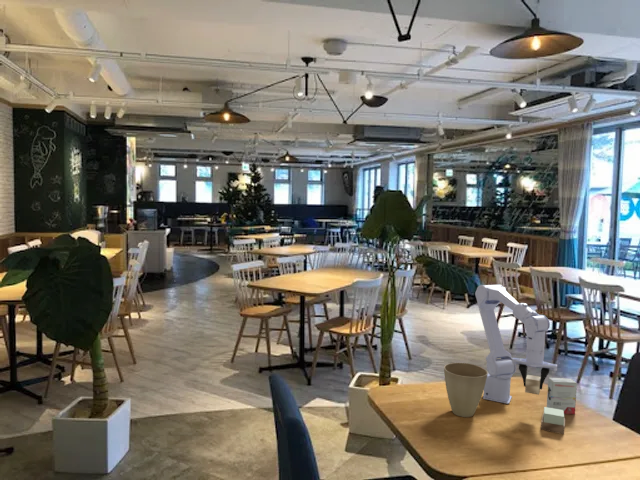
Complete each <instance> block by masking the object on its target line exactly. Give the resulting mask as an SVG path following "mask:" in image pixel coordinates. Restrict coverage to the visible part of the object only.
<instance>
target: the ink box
mask: <svg viewBox="0 0 640 480" xmlns="http://www.w3.org/2000/svg"><path fill="white" fill-rule="evenodd" d="M577 388H578V383H577V382H576V381H575V380H574V379H573V378H567V377H566V378H562V377H548V380H547V392H546V393H547V396H546V398H547V399H546V407H548V408H554V409H560V410H563V411H564V415H565V414H566V415H575V414H576V405H577V404H576V402H577Z"/></svg>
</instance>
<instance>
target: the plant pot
mask: <svg viewBox="0 0 640 480" xmlns="http://www.w3.org/2000/svg"><path fill="white" fill-rule="evenodd" d="M443 371H444V383H445V387H446V388H445V389H446V394H447V398H448V402H449V406H450V408H451V412H452V413H453V414H454V415H456V416H458V417H461V418H462V417H463V418H471V417H473V416H474V415H475V413H476V410H477V408H478V406H479V404H480V402H481V399H482V396H483V394H484V387H485V383H486V379H487V374H489V373H488V371H487V369H485V368H484V367H482V366H479V365H476V364H472V363H466V362H451V363H447V364H445V365H444V366H443Z"/></svg>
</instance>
